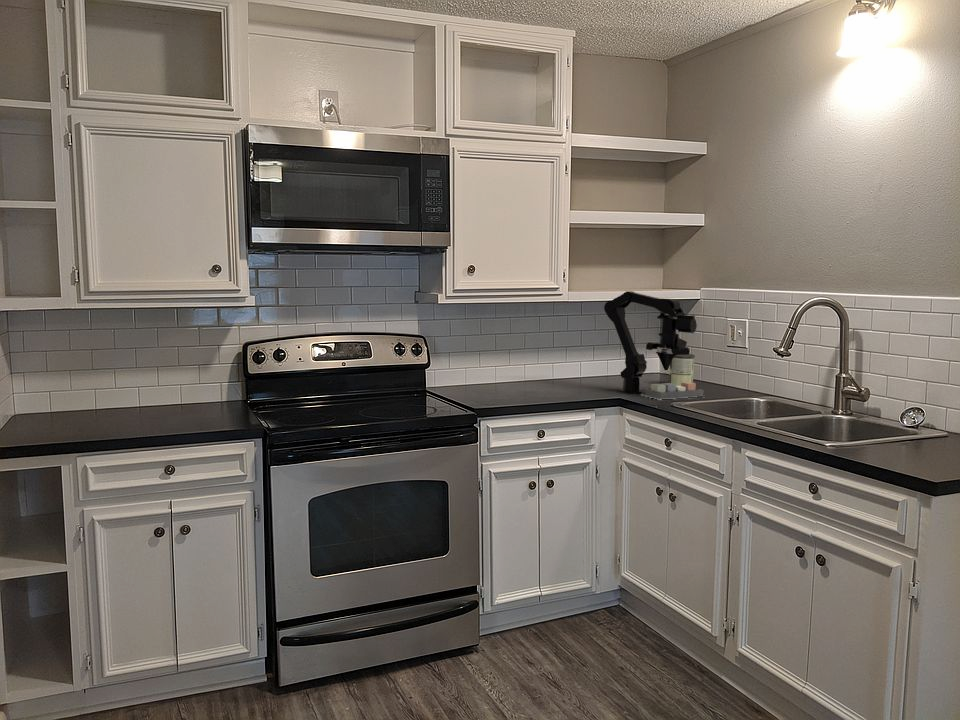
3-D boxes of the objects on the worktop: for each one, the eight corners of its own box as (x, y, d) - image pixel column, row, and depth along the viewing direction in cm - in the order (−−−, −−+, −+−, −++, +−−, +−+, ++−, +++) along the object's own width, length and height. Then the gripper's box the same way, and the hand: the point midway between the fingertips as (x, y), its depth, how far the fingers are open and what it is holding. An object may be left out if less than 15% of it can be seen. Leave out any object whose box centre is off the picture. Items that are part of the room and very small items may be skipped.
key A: (650, 391, 311) (651, 384, 310) (658, 391, 312) (658, 383, 312) (657, 393, 307) (657, 385, 307) (665, 392, 309) (665, 385, 309)
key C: (670, 393, 316) (671, 386, 315) (678, 392, 317) (678, 385, 317) (677, 395, 312) (678, 387, 312) (685, 394, 314) (685, 387, 314)
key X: (660, 390, 313) (661, 383, 313) (668, 390, 315) (669, 383, 314) (667, 392, 309) (668, 385, 309) (675, 392, 311) (675, 384, 311)
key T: (680, 389, 318) (681, 382, 317) (688, 389, 320) (688, 382, 319) (687, 391, 314) (688, 383, 314) (695, 390, 316) (695, 383, 316)
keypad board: (640, 395, 313) (640, 388, 313) (686, 393, 324) (686, 385, 324) (658, 400, 303) (659, 392, 303) (705, 397, 314) (705, 389, 314)
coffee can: (663, 385, 345) (665, 353, 343) (684, 384, 348) (686, 353, 346) (676, 388, 335) (678, 356, 333) (697, 388, 338) (699, 355, 336)
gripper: (701, 333, 305) (698, 372, 307) (667, 328, 320) (664, 366, 322) (680, 333, 299) (677, 373, 301) (646, 328, 315) (643, 367, 317)
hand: (665, 370), depth 310 cm, fingers closed
